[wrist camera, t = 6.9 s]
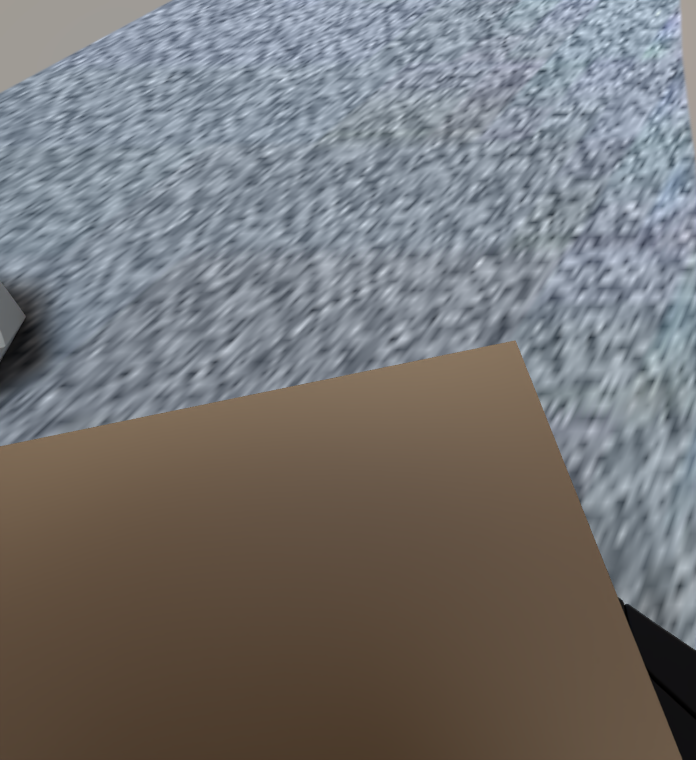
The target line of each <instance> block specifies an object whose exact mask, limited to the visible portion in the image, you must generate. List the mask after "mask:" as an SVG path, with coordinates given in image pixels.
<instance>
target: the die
mask: <svg viewBox="0 0 696 760" xmlns="http://www.w3.org/2000/svg"><path fill="white" fill-rule="evenodd" d="M25 318H26V316H25V314H24V313H23V311H22V310H21V309H20V307H19V306H18V304H17V303H16V302H15V300H14V299H13V297H12V296H11V295H10V293H9V292H8V291H7V289H6V288H5V286H4V285H3V284H2V282H1V281H0V361H1V360H2V358H3V356H4V354H5V353H6V351H7V349H8V347H9V346H10V344H11V342H12V340H13V339H14V337H15V335H16V333H17V332H18V330H19V328H20V326H21V325H22V323H23V321H24V319H25Z"/></svg>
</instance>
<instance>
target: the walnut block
mask: <svg viewBox="0 0 696 760" xmlns="http://www.w3.org/2000/svg"><path fill="white" fill-rule="evenodd" d="M0 760H682V757H681V755H680V752H679V750H678V747H677V745H676V742H675V740H674V737H673V735H672V732H671V730H670V727H669V725H668V722H667V720H666V717H665V715H664V712H663V710H662V707H661V705H660V702H659V700H658V697H657V695H656V692H655V690H654V687H653V685H652V682H651V680H650V677H649V675H648V672H647V670H646V667H645V665H644V662H643V660H642V657H641V655H640V652H639V650H638V647H637V644H636V642H635V639H634V637H633V634H632V632H631V629H630V627H629V624H628V622H627V619H626V617H625V614H624V612H623V609H622V607H621V604H620V602H619V599H618V597H617V594H616V592H615V589H614V587H613V584H612V582H611V579H610V577H609V574H608V572H607V569H606V567H605V564H604V562H603V559H602V557H601V554H600V552H599V549H598V547H597V544H596V542H595V539H594V537H593V534H592V531H591V529H590V526H589V524H588V521H587V519H586V516H585V514H584V511H583V509H582V506H581V504H580V501H579V499H578V496H577V494H576V491H575V489H574V486H573V484H572V481H571V479H570V476H569V474H568V471H567V469H566V466H565V464H564V461H563V459H562V456H561V454H560V451H559V449H558V446H557V444H556V441H555V439H554V436H553V434H552V431H551V429H550V426H549V423H548V421H547V418H546V416H545V413H544V411H543V408H542V406H541V403H540V401H539V398H538V396H537V393H536V391H535V388H534V386H533V383H532V381H531V378H530V376H529V373H528V371H527V368H526V366H525V363H524V361H523V358H522V356H521V353H520V351H519V348H518V346H517V343H516V341H511V342H506V343H501V344H496V345H491V346H486V347H481V348H477V349H472V350H467V351H462V352H457V353H452V354H447V355H443V356H438V357H433V358H428V359H423V360H418V361H413V362H409V363H404V364H399V365H394V366H389V367H384V368H379V369H375V370H370V371H365V372H360V373H355V374H350V375H345V376H341V377H336V378H331V379H326V380H321V381H316V382H311V383H306V384H302V385H297V386H292V387H287V388H282V389H277V390H272V391H268V392H263V393H258V394H253V395H248V396H243V397H238V398H234V399H229V400H224V401H219V402H214V403H209V404H204V405H200V406H195V407H190V408H185V409H180V410H175V411H170V412H166V413H161V414H156V415H151V416H146V417H141V418H136V419H132V420H127V421H122V422H117V423H112V424H107V425H102V426H97V427H93V428H88V429H83V430H78V431H73V432H68V433H63V434H59V435H54V436H49V437H44V438H39V439H34V440H29V441H25V442H20V443H15V444H10V445H5V446H0Z"/></svg>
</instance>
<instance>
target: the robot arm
mask: <svg viewBox="0 0 696 760" xmlns="http://www.w3.org/2000/svg"><path fill="white" fill-rule="evenodd" d="M618 599H619V602H620V604H621V607H622V609H623V612H624V614H625V617H626V619H627V622H628V624H629V627H630V629H631V632H632V634H633V637H634V639H635V642H636V644H637V647H638V650H639V652H640V655H641V657H642V660H643V662H644V665H645V667H646V670H647V672H648V675H649V677H650V680H651V682H652V685H653V687H654V690H655V692H656V695H657V697H658V700H659V702H660V705H661V707H662V710H663V712H664V715H665V717H666V720H667V722H668V725H669V727H670V730H671V732H672V735H673V737H674V740H675V742H676V745H677V747H678V750H679V752H680V755H681V757H682V760H696V650H694V649H693V648H691V647H690V646H688V645H687V644H685V643H684V642H683V641H681V640H680V639H678V638H677V637H675V636H674V635H672V634H671V633H669V632H668V631H666V630H665V629H663V628H662V627H660V626H659V625H657V624H656V623H654V622H653V621H652V620H650V619H649V618H647V617H646V616H644V615H643V614H642V613H640V612H639V611H637V610H636V609H635V608H633V607H632V606H630V605H629V604H625V605H624V602H623V600H621V599H620V598H619V597H618Z"/></svg>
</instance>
